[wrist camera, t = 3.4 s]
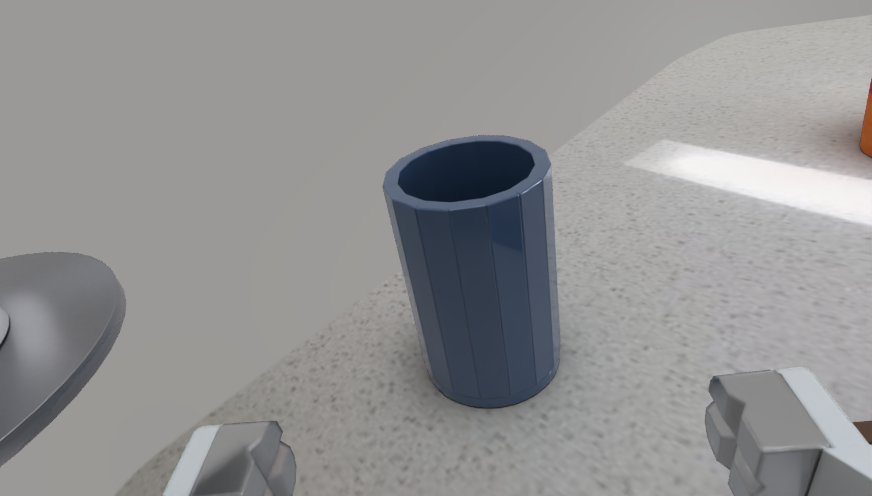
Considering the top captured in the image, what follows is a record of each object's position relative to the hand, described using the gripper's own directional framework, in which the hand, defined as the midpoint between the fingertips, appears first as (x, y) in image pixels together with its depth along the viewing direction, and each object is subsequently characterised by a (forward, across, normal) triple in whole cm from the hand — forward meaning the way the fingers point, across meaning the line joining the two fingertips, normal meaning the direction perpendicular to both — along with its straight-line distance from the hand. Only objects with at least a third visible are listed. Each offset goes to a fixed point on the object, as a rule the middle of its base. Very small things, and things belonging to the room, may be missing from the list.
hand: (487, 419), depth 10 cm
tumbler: (+12, 0, +10) cm, 16 cm away
